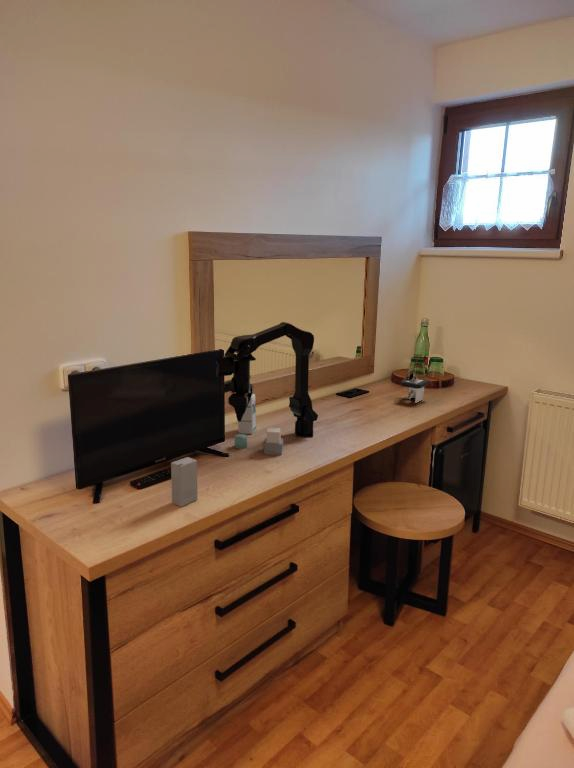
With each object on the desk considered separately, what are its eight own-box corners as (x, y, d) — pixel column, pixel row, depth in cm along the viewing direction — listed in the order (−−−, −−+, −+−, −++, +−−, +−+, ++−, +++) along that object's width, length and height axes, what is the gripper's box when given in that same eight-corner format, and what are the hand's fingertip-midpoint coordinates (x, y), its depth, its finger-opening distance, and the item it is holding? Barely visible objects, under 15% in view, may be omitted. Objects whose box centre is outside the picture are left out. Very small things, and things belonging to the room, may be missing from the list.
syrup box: (253, 434, 218) (252, 397, 214) (237, 433, 219) (236, 396, 215) (256, 429, 223) (256, 393, 220) (241, 428, 224) (240, 392, 221)
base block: (282, 449, 204) (283, 438, 203) (281, 455, 198) (281, 444, 197) (265, 448, 204) (266, 437, 203) (264, 454, 198) (264, 443, 197)
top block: (280, 439, 202) (280, 428, 201) (279, 443, 198) (279, 432, 197) (267, 438, 203) (267, 427, 202) (266, 442, 198) (266, 431, 197)
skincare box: (187, 496, 164) (187, 455, 161) (198, 500, 162) (198, 460, 159) (170, 502, 160) (169, 461, 157) (181, 507, 157) (180, 466, 154)
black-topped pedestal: (398, 391, 289) (400, 365, 286) (449, 400, 274) (452, 373, 271) (372, 402, 267) (374, 374, 264) (426, 413, 252) (429, 384, 249)
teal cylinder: (247, 445, 207) (247, 434, 206) (246, 449, 202) (246, 438, 202) (235, 444, 207) (235, 433, 206) (233, 448, 203) (233, 437, 202)
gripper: (222, 367, 208) (222, 408, 212) (213, 379, 190) (213, 424, 194) (253, 368, 207) (253, 410, 211) (246, 380, 189) (246, 426, 193)
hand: (241, 417), depth 202 cm, fingers open, 9 cm apart
